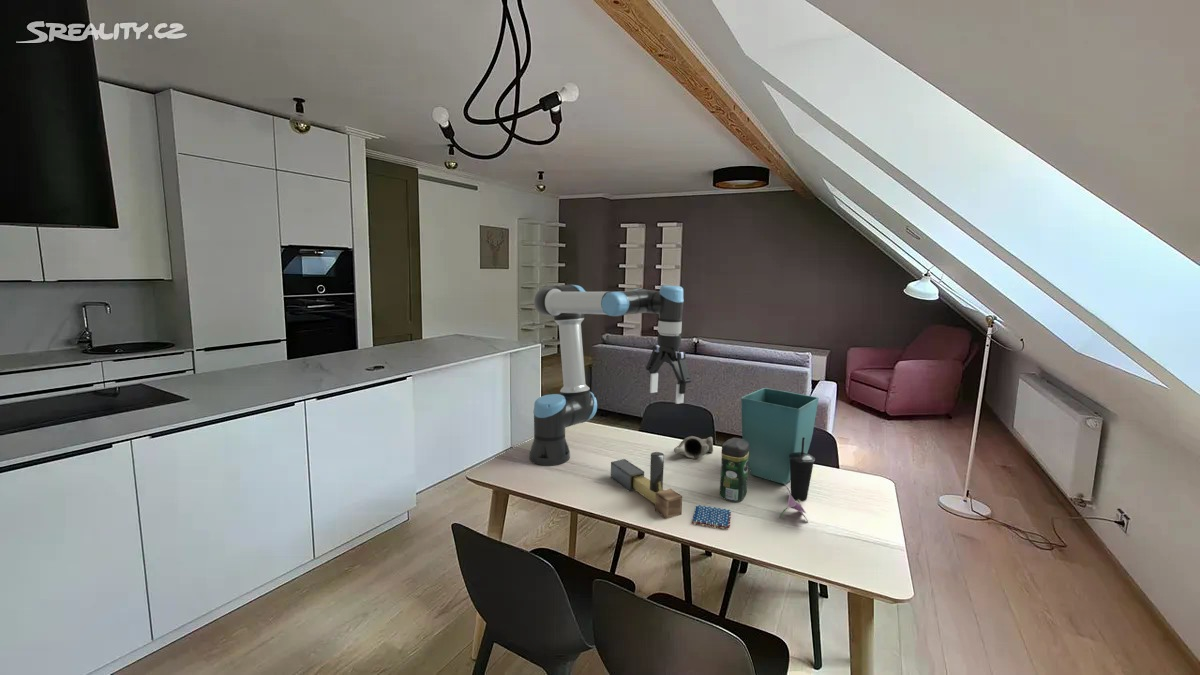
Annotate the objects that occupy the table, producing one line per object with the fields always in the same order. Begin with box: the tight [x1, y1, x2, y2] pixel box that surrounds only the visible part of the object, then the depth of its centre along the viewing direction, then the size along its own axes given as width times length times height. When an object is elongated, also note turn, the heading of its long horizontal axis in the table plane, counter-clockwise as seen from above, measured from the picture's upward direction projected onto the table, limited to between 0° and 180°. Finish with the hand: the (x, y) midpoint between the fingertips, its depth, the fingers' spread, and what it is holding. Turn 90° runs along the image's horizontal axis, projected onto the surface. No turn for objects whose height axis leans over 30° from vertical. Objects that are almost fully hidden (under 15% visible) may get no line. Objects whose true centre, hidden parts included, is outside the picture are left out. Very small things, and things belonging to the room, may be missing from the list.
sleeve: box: [610, 458, 645, 493], centre depth 172 cm, size 12×6×6 cm, turn 30°
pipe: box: [673, 435, 714, 459], centre depth 198 cm, size 16×9×15 cm
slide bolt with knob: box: [631, 451, 665, 505], centre depth 160 cm, size 23×4×15 cm, turn 30°
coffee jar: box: [719, 437, 749, 502], centre depth 163 cm, size 10×8×19 cm
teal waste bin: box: [740, 387, 819, 485], centre depth 179 cm, size 20×20×28 cm
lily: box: [779, 482, 808, 521], centre depth 151 cm, size 12×12×10 cm
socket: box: [654, 488, 683, 520], centre depth 153 cm, size 6×6×6 cm
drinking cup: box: [789, 437, 816, 502], centre depth 163 cm, size 8×8×20 cm
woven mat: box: [691, 504, 732, 531], centre depth 150 cm, size 10×11×2 cm
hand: (666, 397), depth 168 cm, fingers open, 13 cm apart
